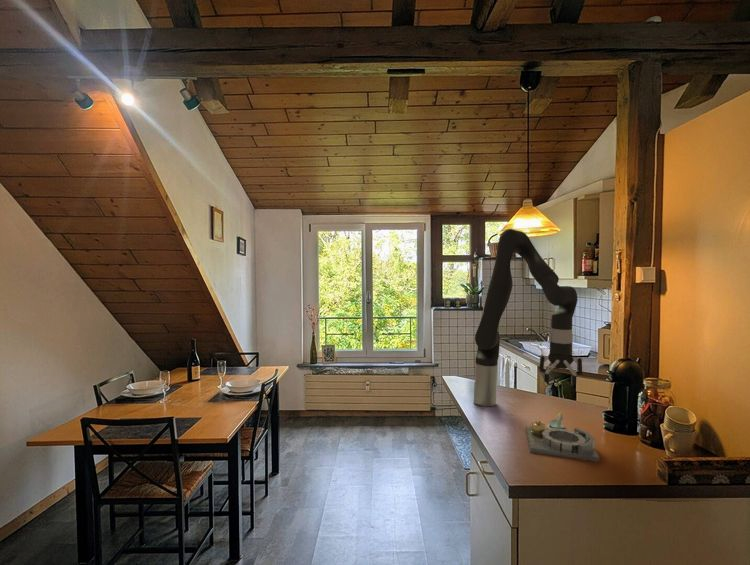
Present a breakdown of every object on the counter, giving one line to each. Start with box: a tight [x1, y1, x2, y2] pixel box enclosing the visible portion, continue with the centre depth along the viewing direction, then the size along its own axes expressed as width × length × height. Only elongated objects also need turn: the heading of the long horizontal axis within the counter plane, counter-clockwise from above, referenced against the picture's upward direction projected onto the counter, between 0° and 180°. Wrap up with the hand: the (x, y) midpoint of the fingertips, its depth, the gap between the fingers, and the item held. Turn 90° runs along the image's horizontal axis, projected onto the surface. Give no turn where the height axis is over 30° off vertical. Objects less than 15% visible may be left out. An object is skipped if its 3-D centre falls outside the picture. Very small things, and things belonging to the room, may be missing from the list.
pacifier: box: [546, 412, 568, 430], centre depth 151 cm, size 7×6×6 cm
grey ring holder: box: [525, 420, 600, 463], centre depth 138 cm, size 20×18×6 cm
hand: (559, 384), depth 151 cm, fingers open, 8 cm apart
